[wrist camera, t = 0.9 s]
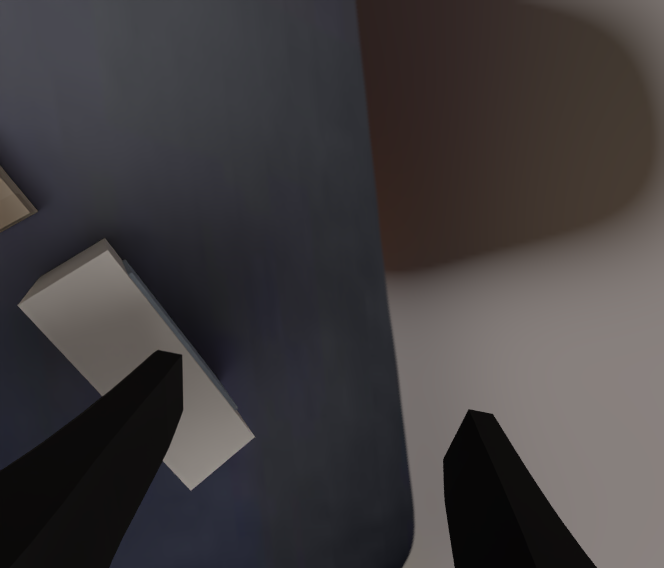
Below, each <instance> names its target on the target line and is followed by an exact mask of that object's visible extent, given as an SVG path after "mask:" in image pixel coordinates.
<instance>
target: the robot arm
mask: <svg viewBox="0 0 664 568" xmlns="http://www.w3.org/2000/svg"><path fill="white" fill-rule="evenodd" d="M182 413H183V361H182V354H177V353H172V352H166V351H161V350H157V351H155V352H154V353H152V354H151V355H150V356H149V357H148V358H147V359H146V360H145V361H143V362H142V363H141V364H140V365H139V366H138V367H137V368H135V369H134V370H133V371H132V372H131V373H130V374H129V375H127V376H126V377H125V378H124V379H123V380H122V381H120V382H119V383H118V384H117V385H116V386H115V387H113V388H112V389H111V390H110V391H109V392H107V393H106V394H105V395H104V396H102V397H101V398H100V399H99V400H97V401H96V402H95V403H94V404H92V405H91V406H90V407H89V408H88V409H86V410H85V411H84V412H83V413H81V414H80V415H79V416H77V417H76V418H75V419H73V420H72V421H71V422H69V423H68V424H67V425H65V426H64V427H63V428H61V429H60V430H59V431H57V432H56V433H54V434H53V435H52V436H50V437H49V438H48V439H46V440H45V441H44V442H42V443H41V444H39V445H38V446H37V447H35V448H34V449H32V450H31V451H29V452H28V453H26V454H25V455H23V456H22V457H20V458H19V459H17V460H16V461H14V462H13V463H11V464H10V465H8V466H7V467H5V468H4V469H2V470H1V471H0V568H109V567H110V564H111V562H112V560H113V557H114V555H115V553H116V551H117V549H118V547H119V545H120V542H121V540H122V538H123V536H124V534H125V532H126V530H127V529H128V527H129V525H130V523H131V521H132V519H133V517H134V515H135V513H136V511H137V509H138V507H139V505H140V504H141V502H142V500H143V498H144V496H145V494H146V492H147V490H148V488H149V486H150V484H151V482H152V480H153V479H154V477H155V475H156V473H157V471H158V469H159V467H160V465H161V463H162V461H163V459H164V457H165V455H166V453H167V451H168V449H169V447H170V444H171V442H172V439H173V436H174V434H175V431H176V429H177V426H178V423H179V421H180V418H181V415H182ZM443 469H444V470H443V472H444V497H445V507H446V514H447V520H448V527H449V533H450V540H451V547H452V553H453V559H454V566H455V568H597V567H596V566H595V565H594V563H593V562H592V561H591V559H590V558H589V557H588V556H587V554H586V553H585V552H584V550H583V549H582V548H581V546H580V545H579V544H578V542H577V541H576V540H575V538H574V537H573V536H572V534H571V533H570V531H569V530H568V529H567V527H566V526H565V525H564V523H563V522H562V520H561V519H560V518H559V517H558V515H557V513H556V512H555V511H554V509H553V508H552V506H551V505H550V503H549V502H548V500H547V499H546V497H545V496H544V494H543V493H542V491H541V490H540V488H539V487H538V485H537V484H536V482H535V481H534V479H533V477H532V476H531V474H530V473H529V471H528V470H527V468H526V467H525V465H524V463H523V462H522V460H521V459H520V457H519V456H518V454H517V452H516V451H515V449H514V447H513V446H512V444H511V443H510V441H509V439H508V438H507V436H506V434H505V433H504V431H503V430H502V428H501V427H500V425H499V423H498V422H497V420H496V418H495V417H494V415H493V414H490V413H485V412H480V411H475V410H468V412H467V414H466V416H465V418H464V419H463V422H462V424H461V426H460V428H459V429H458V431H457V434H456V435H455V437H454V439H453V441H452V443H451V445H450V447H449V449H448V451H447V453H446V455H445V457H444V459H443Z"/></svg>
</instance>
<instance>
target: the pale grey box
mask: <svg viewBox="0 0 664 568" xmlns="http://www.w3.org/2000/svg"><path fill="white" fill-rule="evenodd" d="M17 306H18V307H19V308H20V309H21V310H22V311H23V312H24V313H25V314H26V315H27V316H28V317H29V318H30V319H31V320H32V322H33V323H34V324H35V325H36V326H37V327H38V328H39V329H40V330H41V331H42V332H43V333H44V334H45V335H46V336H47V338H48V339H49V340H50V341H51V342H52V343H53V344H54V345H55V346H56V347H57V348H58V349H59V350H60V351H61V353H62V354H63V355H64V356H65V357H66V358H67V359H68V360H69V361H70V362H71V363H72V364H73V365H74V366H75V367H76V369H77V370H78V371H79V372H80V373H81V374H82V375H83V376H84V377H85V378H86V379H87V380H88V381H89V382H90V383H91V385H92V386H93V387H94V388H95V389H96V390H97V391H98V392H99V393H100V394H101V395H102V396H104V395H105V394H106V393H107V392H109V391H110V390H111V389H112V388H113V387H115V386H116V385H117V384H118V383H119V382H120V381H122V380H123V379H124V378H125V377H126V376H127V375H129V374H130V373H131V372H132V371H133V370H134V369H135V368H137V367H138V366H139V365H140V364H141V363H142V362H143V361H145V360H146V359H147V358H148V357H149V356H150V355H151V354H152V353H154V352H155V351H157V350H161V351H166V352H172V353H177V354H182V361H183V413H182V415H181V418H180V421H179V423H178V426H177V429H176V431H175V434H174V436H173V439H172V442H171V444H170V447H169V449H168V451H167V453H166V455H165V457H164V459H163V461H164V463H165V464H166V465H167V466H168V467H169V468H170V469H171V470H172V471H173V472H174V473H175V474H176V475H177V476H178V477H179V479H180V480H181V481H182V482H183V483H184V484H185V485H186V486H187V487H188V488H189V489H190V490H192V489H193V488H195V487H196V486H197V485H198V484H199V483H200V482H202V481H203V480H204V479H205V478H206V477H208V476H209V475H210V474H211V473H212V472H214V471H215V470H216V469H217V468H218V467H220V466H221V465H222V464H223V463H224V462H225V461H227V460H228V459H229V458H230V457H231V456H233V455H234V454H235V453H236V452H237V451H239V450H240V449H241V448H242V447H243V446H245V445H246V444H247V443H248V442H249V441H250V440H252V439H253V438H254V437H255V436H254V435H253V433H252V432H251V430H250V429H249V428H248V426H247V425H246V423H245V422H244V420H243V419H242V417H241V416H240V414H239V413H238V411H237V409H238V407H237V406H236V404H235V403H234V402H233V400H232V399H231V397H230V396H229V394H228V393H227V391H226V390H225V389H224V387H223V386H222V384H221V383H220V381H219V380H218V378H217V377H216V375H215V374H214V373H213V371H212V370H211V369H210V368H209V366H208V365H207V364H206V362H205V361H204V360H203V359H202V357H201V356H200V355H199V353H198V352H197V351H196V350H195V348H194V347H193V346H192V344H191V343H190V342H189V341H188V339H187V338H186V337H185V335H184V334H183V333H182V332H181V330H180V329H179V328H178V326H177V325H176V324H175V323H174V321H173V320H172V319H171V317H170V316H169V315H168V314H167V312H166V311H165V310H164V308H163V307H162V306H161V305H160V303H159V302H158V301H157V299H156V298H155V297H154V296H153V294H152V293H151V292H150V290H149V289H148V288H147V287H146V285H145V284H144V283H143V281H142V280H141V279H140V277H139V276H138V275H137V274H136V272H135V271H134V270H133V268H132V267H131V266H130V265H129V263H128V262H127V261H126V259H125V260H123V261H122V259H121V258H120V257H119V255H118V254H117V253H116V252H115V250H114V249H113V248H112V246H111V245H110V244H109V243H108V241H107V240H106V239H105V238H104V239H102V240H101V241H99V242H97V243H96V244H94V245H92V246H91V247H89V248H87V249H86V250H84V251H82V252H81V253H79V254H77V255H76V256H74V257H72V258H71V259H69V260H67V261H66V262H64V263H62V264H61V265H59V266H57V267H56V268H54V269H52V270H51V271H49V272H47V273H46V274H44V275H42V276H41V277H39V279H38V280H37V281H36V282H35V284H34V285H33V286H32V288H31V289H30V290H29V291H28V293H27V294H26V295H25V296H24V298H23V299H22V300H21V302H20V303H19V304H18V305H17Z"/></svg>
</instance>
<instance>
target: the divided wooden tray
mask: <svg viewBox="0 0 664 568" xmlns="http://www.w3.org/2000/svg"><path fill="white" fill-rule="evenodd" d="M37 212H38V211H37V209H36V208H35V207H34V206H33V205H32V203H31V202H30V201H29V200H28V199H27V197H26V196H25V195H24V194H23V192H22V191H21V190H20V189H19V188H18V186H17V185H16V184H15V183H14V182H13V180H12V179H11V178H10V177H9V176H8V174H7V173H6V172H5V171H4V170H3V168H2V167H1V166H0V233H1V232H2V231H4V230H6V229H8V228H10V227H11V226H13V225H15V224H17V223H19V222H20V221H22V220H24V219H26V218H28V217H29V216H31V215H33V214H35V213H37Z"/></svg>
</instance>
